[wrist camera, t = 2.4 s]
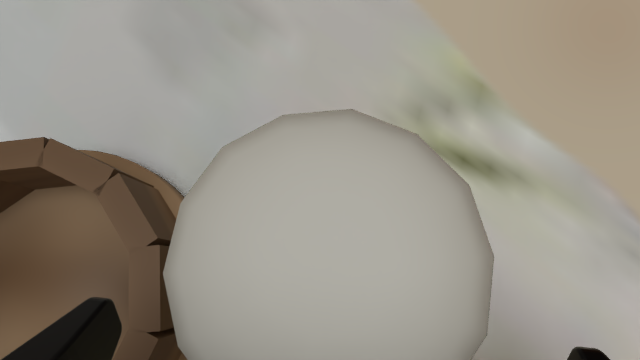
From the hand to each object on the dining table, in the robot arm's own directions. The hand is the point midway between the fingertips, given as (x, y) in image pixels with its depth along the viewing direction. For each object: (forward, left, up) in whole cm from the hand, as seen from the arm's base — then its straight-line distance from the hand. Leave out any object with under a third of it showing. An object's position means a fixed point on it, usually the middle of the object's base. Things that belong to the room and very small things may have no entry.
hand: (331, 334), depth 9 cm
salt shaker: (+1, 0, -9) cm, 9 cm away
